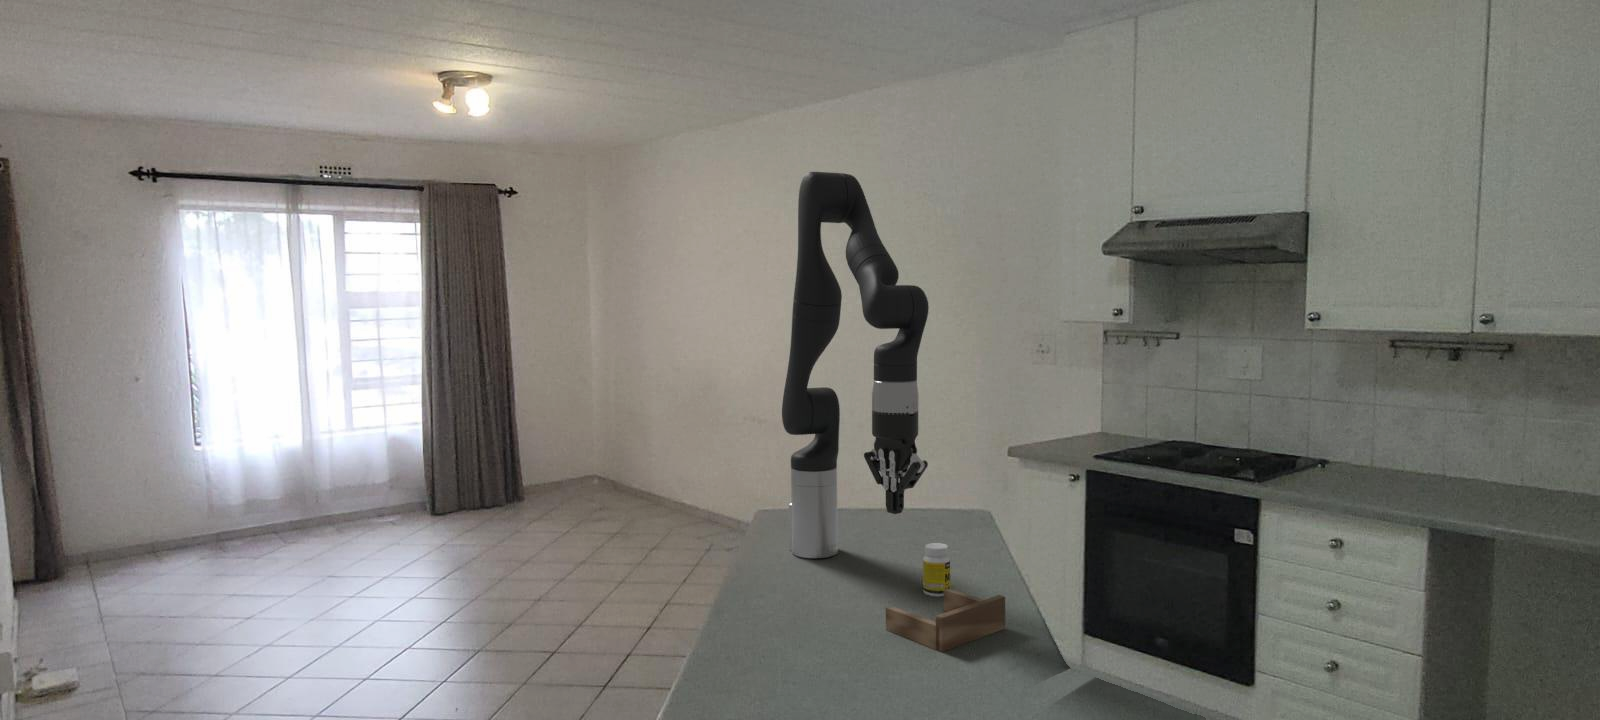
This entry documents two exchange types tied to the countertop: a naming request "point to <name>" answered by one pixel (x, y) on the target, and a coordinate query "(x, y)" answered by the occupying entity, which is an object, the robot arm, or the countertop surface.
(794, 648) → the countertop surface
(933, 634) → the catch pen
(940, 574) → the supplement bottle
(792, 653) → the countertop surface
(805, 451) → the robot arm
